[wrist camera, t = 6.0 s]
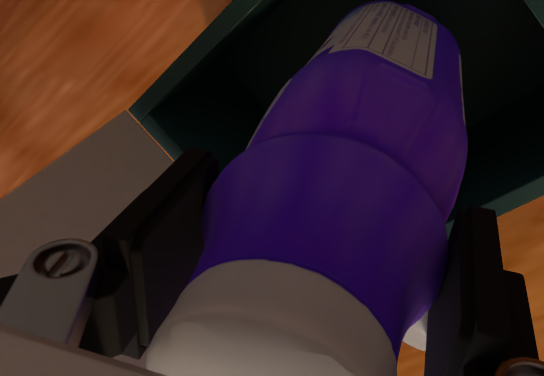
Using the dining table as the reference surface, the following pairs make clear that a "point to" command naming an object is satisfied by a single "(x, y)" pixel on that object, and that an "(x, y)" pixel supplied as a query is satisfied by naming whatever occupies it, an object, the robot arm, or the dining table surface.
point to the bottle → (330, 212)
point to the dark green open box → (308, 40)
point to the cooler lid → (80, 194)
